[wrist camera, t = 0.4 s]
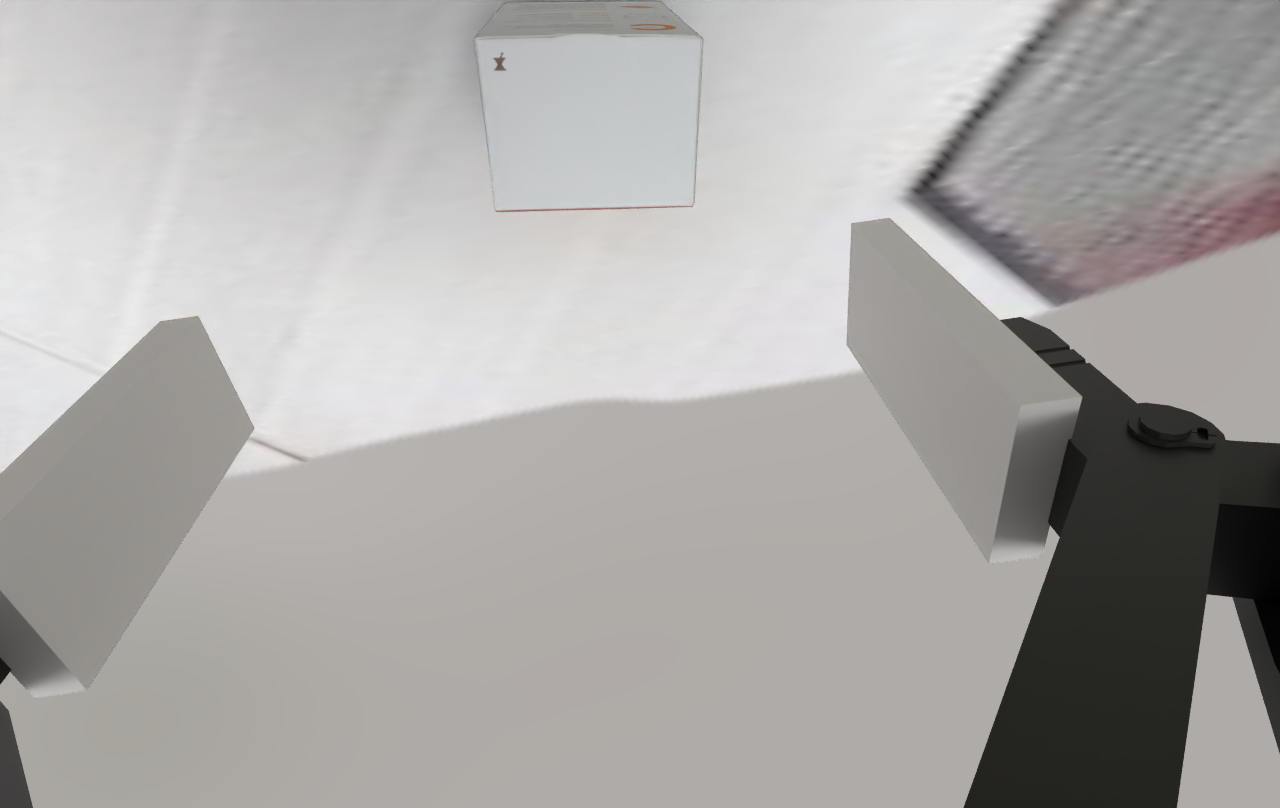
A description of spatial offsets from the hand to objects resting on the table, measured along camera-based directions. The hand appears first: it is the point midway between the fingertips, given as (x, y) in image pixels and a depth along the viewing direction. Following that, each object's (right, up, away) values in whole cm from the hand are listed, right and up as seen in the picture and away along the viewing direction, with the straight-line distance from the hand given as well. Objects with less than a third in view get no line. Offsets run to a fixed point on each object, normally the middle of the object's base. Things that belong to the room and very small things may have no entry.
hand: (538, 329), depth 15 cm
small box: (-1, +16, +23) cm, 28 cm away
